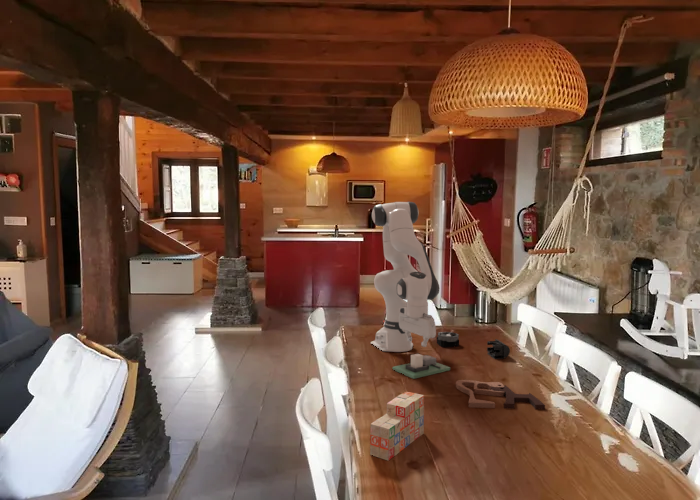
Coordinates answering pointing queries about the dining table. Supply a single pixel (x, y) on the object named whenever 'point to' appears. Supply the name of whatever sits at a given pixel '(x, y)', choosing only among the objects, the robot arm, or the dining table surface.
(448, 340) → the cpu cooler
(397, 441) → the stack of blocks
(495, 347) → the end cap
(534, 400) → the wood carving
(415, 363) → the plug
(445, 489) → the dining table surface
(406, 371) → the circuit board
